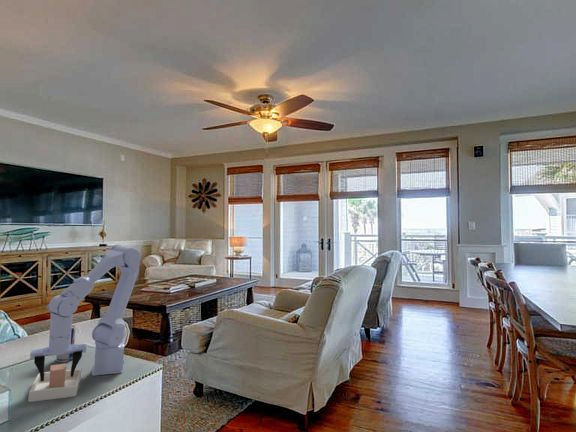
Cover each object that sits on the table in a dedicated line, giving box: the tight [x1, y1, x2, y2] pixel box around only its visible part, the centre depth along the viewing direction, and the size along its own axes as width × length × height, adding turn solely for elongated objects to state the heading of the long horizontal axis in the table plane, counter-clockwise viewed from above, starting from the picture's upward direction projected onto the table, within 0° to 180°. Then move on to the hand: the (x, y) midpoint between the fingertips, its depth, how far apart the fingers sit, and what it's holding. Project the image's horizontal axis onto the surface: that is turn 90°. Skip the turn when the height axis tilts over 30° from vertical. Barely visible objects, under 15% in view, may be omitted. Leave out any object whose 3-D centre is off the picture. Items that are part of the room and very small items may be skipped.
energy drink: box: [55, 324, 77, 363], centre depth 129 cm, size 5×5×12 cm
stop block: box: [49, 363, 67, 389], centre depth 110 cm, size 4×4×6 cm
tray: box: [27, 368, 83, 403], centre depth 109 cm, size 12×12×3 cm
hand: (57, 377), depth 109 cm, fingers open, 7 cm apart
